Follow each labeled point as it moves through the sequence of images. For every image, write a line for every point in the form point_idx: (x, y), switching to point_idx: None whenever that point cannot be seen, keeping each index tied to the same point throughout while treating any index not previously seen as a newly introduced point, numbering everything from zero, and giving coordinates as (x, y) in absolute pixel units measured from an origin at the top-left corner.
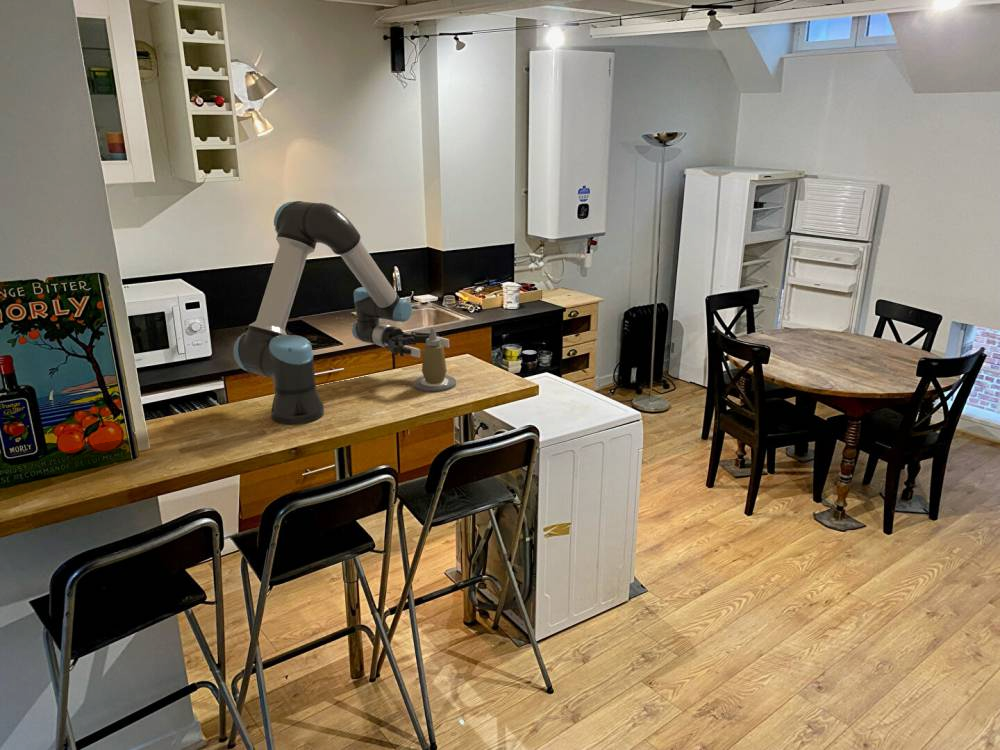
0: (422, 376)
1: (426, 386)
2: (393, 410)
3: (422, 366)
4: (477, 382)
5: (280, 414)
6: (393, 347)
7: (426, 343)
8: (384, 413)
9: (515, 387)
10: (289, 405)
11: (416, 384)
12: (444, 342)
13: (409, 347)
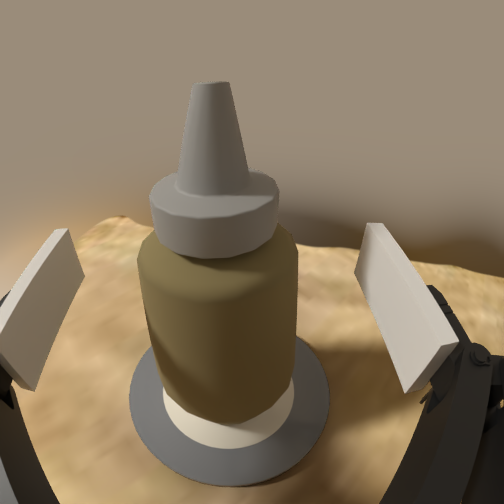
0: (209, 481)
1: (298, 372)
2: (460, 310)
3: (282, 379)
4: (125, 299)
5: None
6: None
7: (274, 223)
8: (480, 309)
9: (125, 229)
10: None
11: (315, 419)
12: (61, 271)
13: (424, 285)
